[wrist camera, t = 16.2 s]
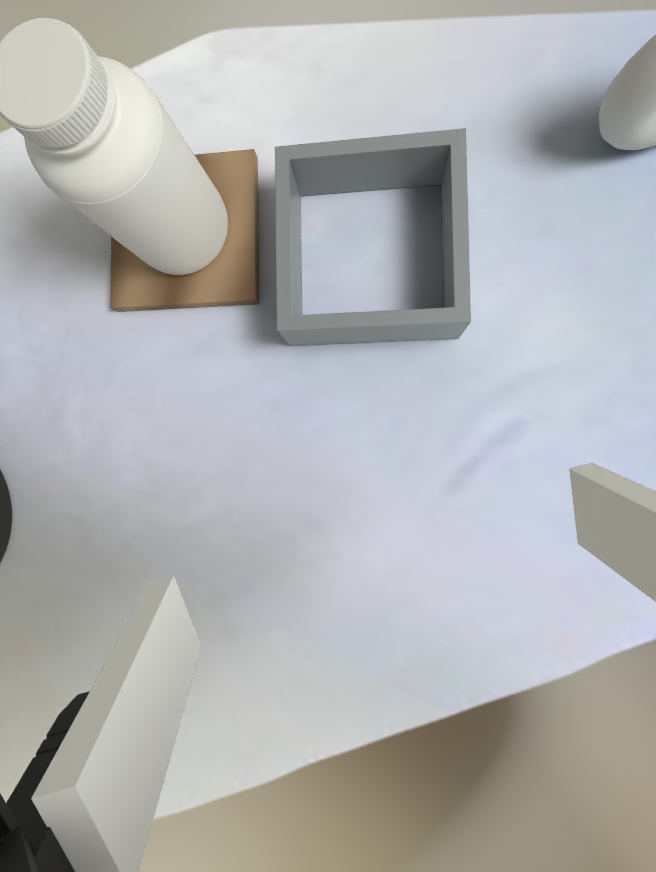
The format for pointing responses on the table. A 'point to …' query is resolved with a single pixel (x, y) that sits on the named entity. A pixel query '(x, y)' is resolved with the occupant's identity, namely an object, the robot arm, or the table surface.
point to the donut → (632, 103)
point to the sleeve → (364, 171)
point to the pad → (226, 275)
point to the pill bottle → (109, 147)
